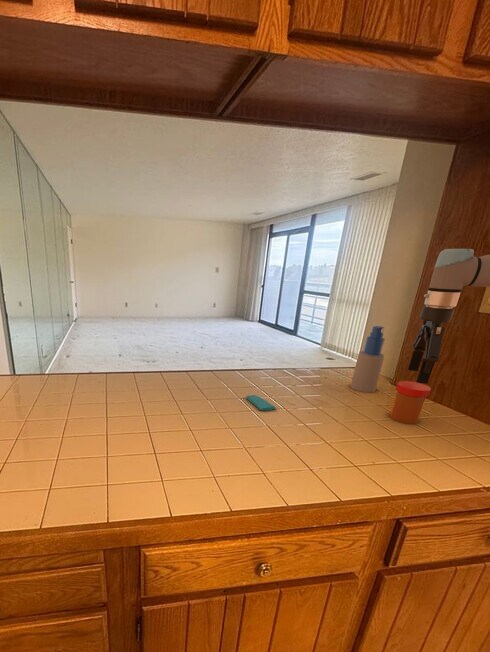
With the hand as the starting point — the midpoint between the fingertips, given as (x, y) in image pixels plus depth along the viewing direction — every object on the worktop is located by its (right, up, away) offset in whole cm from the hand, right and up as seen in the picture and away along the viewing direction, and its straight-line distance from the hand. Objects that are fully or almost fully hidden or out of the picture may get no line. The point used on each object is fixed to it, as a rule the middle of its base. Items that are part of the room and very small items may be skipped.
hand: (416, 376), depth 108 cm
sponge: (-45, -9, +15) cm, 48 cm away
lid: (0, -3, +1) cm, 3 cm away
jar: (0, -14, +6) cm, 15 cm away
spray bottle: (+1, -3, +32) cm, 32 cm away
